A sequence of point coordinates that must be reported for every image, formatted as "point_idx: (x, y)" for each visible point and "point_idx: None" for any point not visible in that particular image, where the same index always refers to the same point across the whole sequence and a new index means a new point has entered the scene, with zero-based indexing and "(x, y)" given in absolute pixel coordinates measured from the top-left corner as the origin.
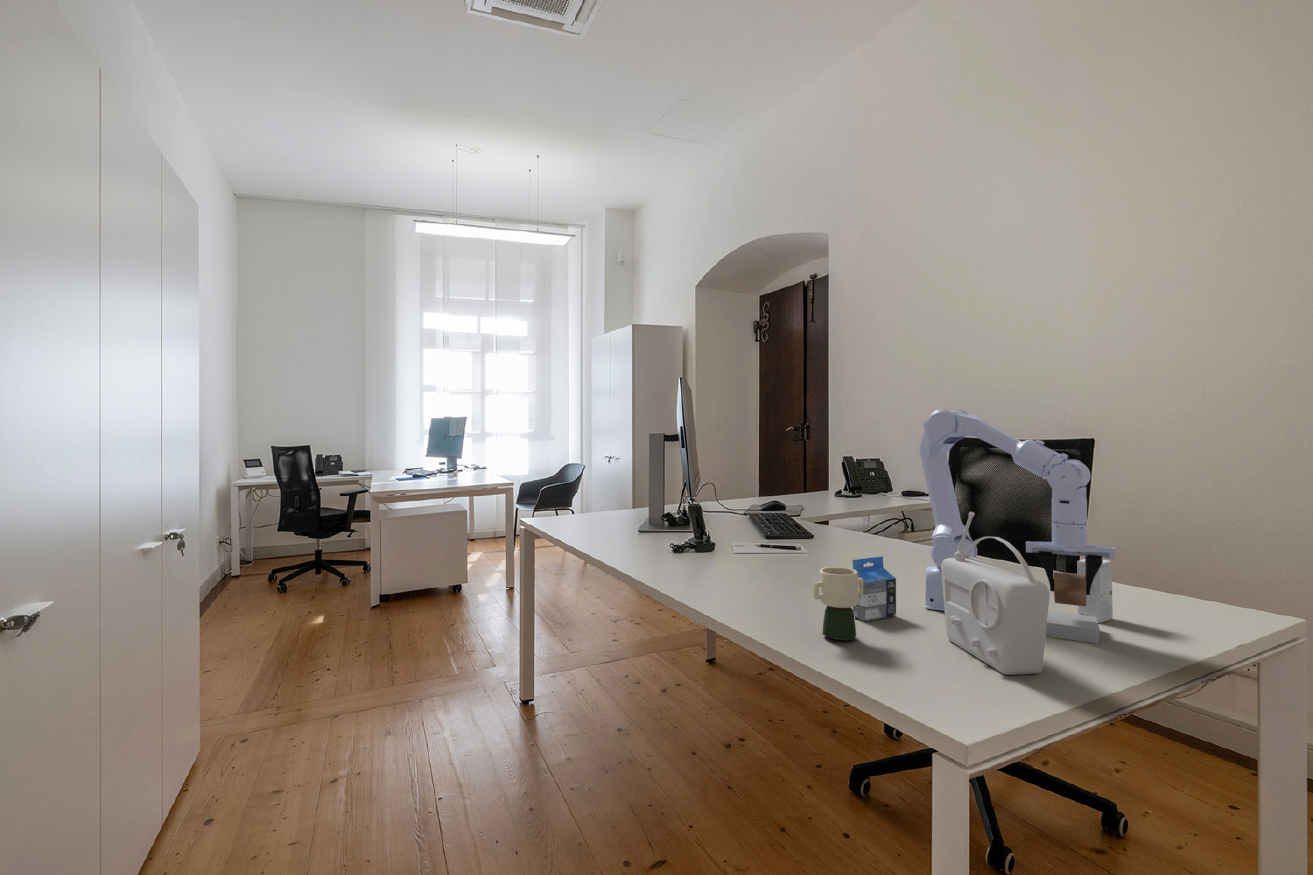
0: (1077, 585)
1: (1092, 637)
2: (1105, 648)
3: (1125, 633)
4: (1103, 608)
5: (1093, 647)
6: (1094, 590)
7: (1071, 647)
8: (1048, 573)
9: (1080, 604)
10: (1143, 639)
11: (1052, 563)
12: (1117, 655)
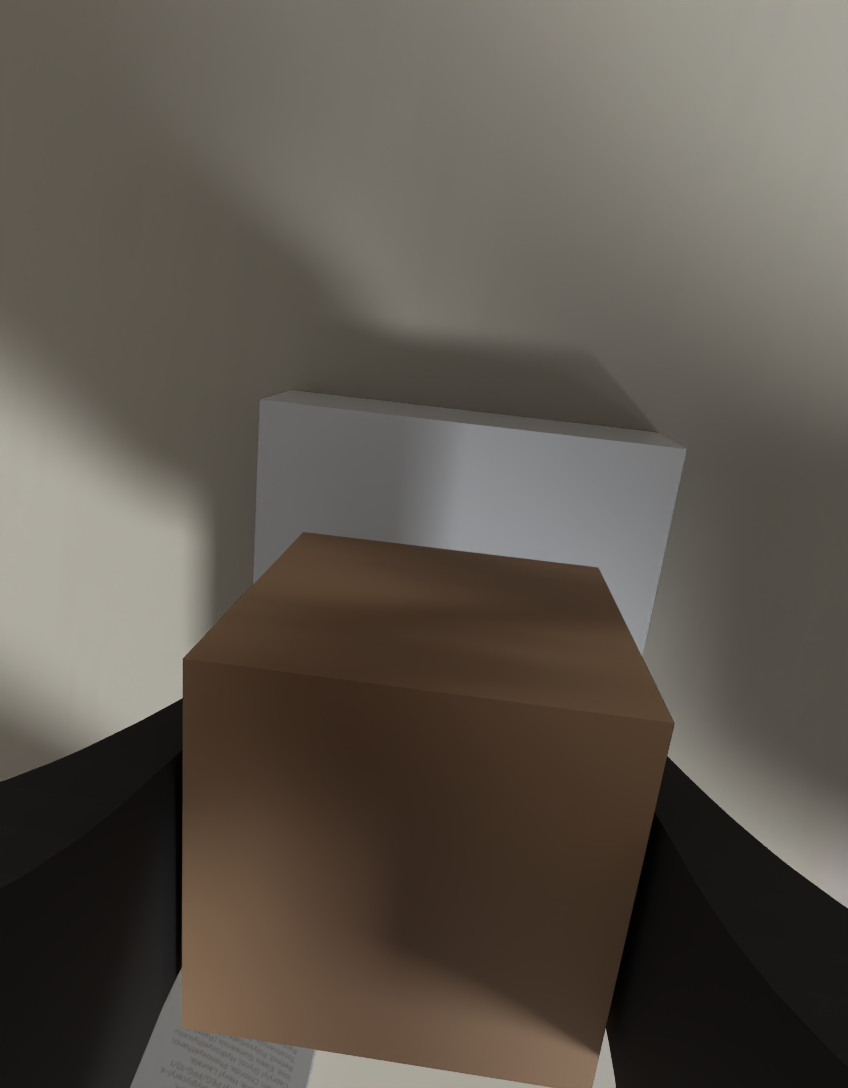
0: (336, 627)
1: (327, 398)
2: (270, 268)
3: (116, 688)
4: None
5: (346, 256)
6: (173, 1077)
7: (503, 179)
8: (761, 860)
9: (352, 544)
10: (29, 595)
11: (802, 996)
12: (211, 111)
